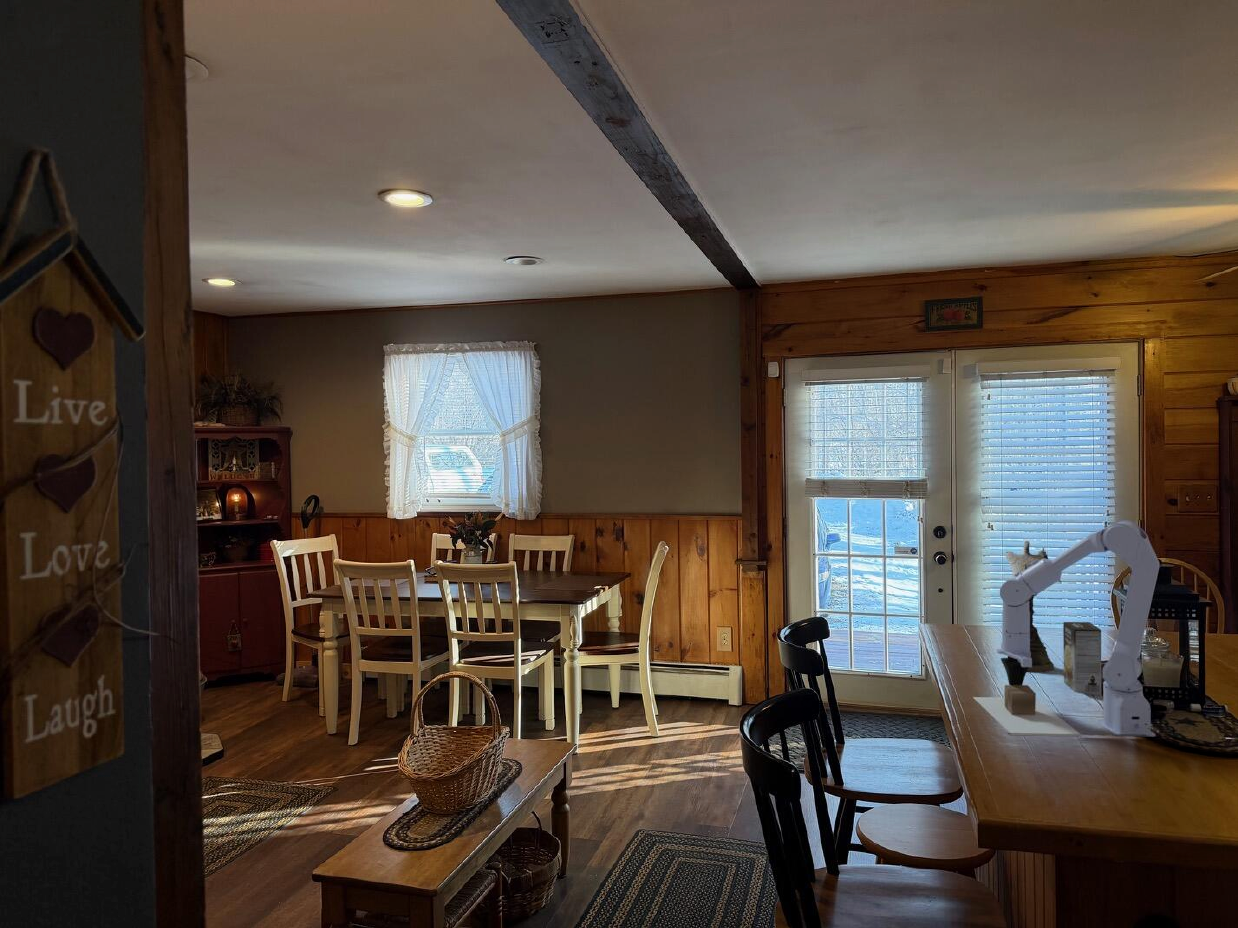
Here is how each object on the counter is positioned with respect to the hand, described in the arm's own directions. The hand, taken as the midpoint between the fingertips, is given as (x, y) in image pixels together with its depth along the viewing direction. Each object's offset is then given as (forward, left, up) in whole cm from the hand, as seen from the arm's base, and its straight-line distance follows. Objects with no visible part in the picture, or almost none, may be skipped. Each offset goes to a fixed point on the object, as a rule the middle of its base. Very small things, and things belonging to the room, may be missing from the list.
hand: (1015, 690), depth 194 cm
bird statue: (+39, -18, -5) cm, 43 cm away
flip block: (0, 0, -1) cm, 1 cm away
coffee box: (+19, -22, -5) cm, 29 cm away
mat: (-4, 0, -5) cm, 6 cm away
